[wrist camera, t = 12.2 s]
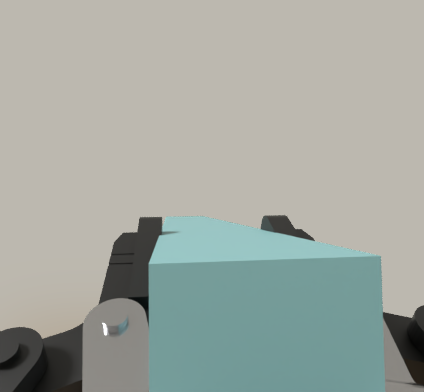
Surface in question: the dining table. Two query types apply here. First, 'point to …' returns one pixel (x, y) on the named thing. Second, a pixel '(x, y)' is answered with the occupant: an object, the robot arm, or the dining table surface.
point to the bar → (261, 312)
